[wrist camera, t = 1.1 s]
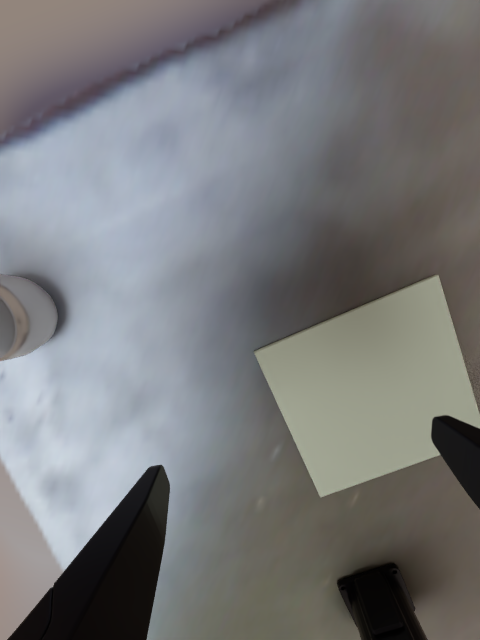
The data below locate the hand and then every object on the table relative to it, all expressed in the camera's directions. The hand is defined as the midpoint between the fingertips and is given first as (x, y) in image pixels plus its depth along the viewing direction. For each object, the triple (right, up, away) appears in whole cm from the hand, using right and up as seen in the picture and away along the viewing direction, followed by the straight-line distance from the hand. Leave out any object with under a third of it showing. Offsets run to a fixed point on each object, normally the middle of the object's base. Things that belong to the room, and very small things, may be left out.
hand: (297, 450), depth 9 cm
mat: (+10, -2, +15) cm, 18 cm away
